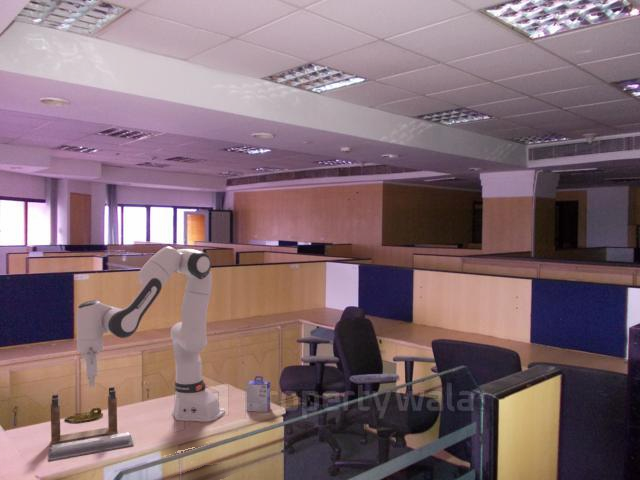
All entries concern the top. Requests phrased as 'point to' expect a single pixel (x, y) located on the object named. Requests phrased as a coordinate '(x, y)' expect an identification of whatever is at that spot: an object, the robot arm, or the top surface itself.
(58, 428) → the hook stand
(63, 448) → the rail
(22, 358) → the top surface
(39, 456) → the top surface
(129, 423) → the top surface
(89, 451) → the mat
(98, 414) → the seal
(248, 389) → the ink cartridge box
